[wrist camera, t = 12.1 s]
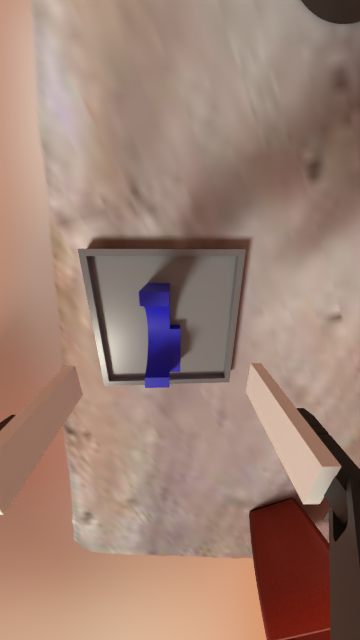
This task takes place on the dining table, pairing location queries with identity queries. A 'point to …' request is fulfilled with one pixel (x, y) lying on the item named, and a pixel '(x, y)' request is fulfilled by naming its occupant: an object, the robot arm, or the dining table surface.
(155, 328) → the cable clip
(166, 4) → the dining table surface
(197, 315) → the tray
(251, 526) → the plant pot
